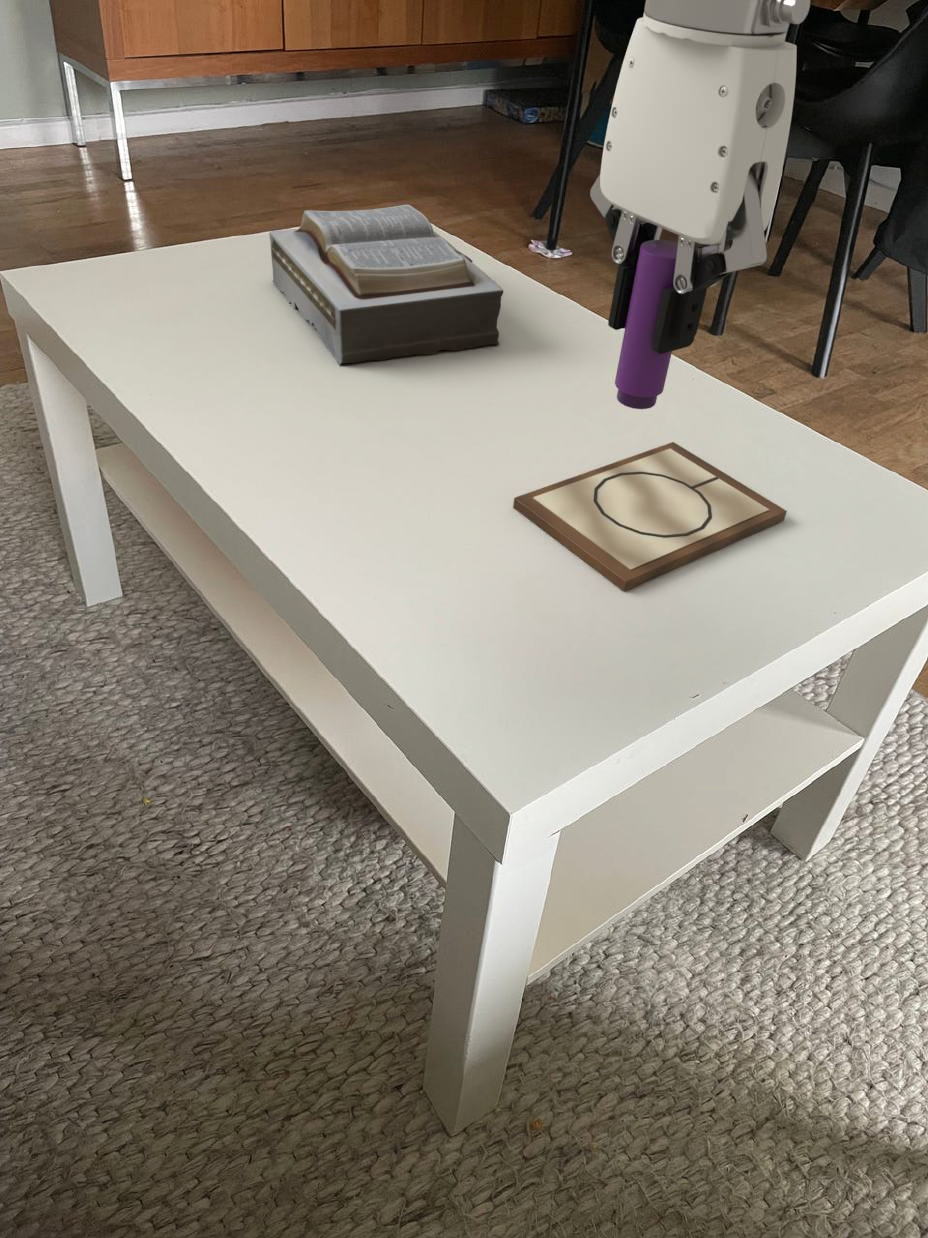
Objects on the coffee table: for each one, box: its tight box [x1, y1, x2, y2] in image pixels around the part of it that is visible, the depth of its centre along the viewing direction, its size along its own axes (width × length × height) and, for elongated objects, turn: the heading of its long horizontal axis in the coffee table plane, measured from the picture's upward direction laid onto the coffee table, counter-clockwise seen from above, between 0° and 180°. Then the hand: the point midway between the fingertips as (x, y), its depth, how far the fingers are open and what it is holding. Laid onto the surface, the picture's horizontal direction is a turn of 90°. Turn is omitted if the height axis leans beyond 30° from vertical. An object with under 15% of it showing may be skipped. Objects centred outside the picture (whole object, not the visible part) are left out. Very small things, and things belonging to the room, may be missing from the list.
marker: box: [614, 239, 678, 410], centre depth 63 cm, size 3×3×10 cm
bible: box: [268, 204, 504, 367], centre depth 115 cm, size 23×27×10 cm
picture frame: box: [512, 441, 788, 592], centre depth 88 cm, size 20×14×1 cm
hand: (650, 333), depth 64 cm, fingers closed on marker, 3 cm apart
